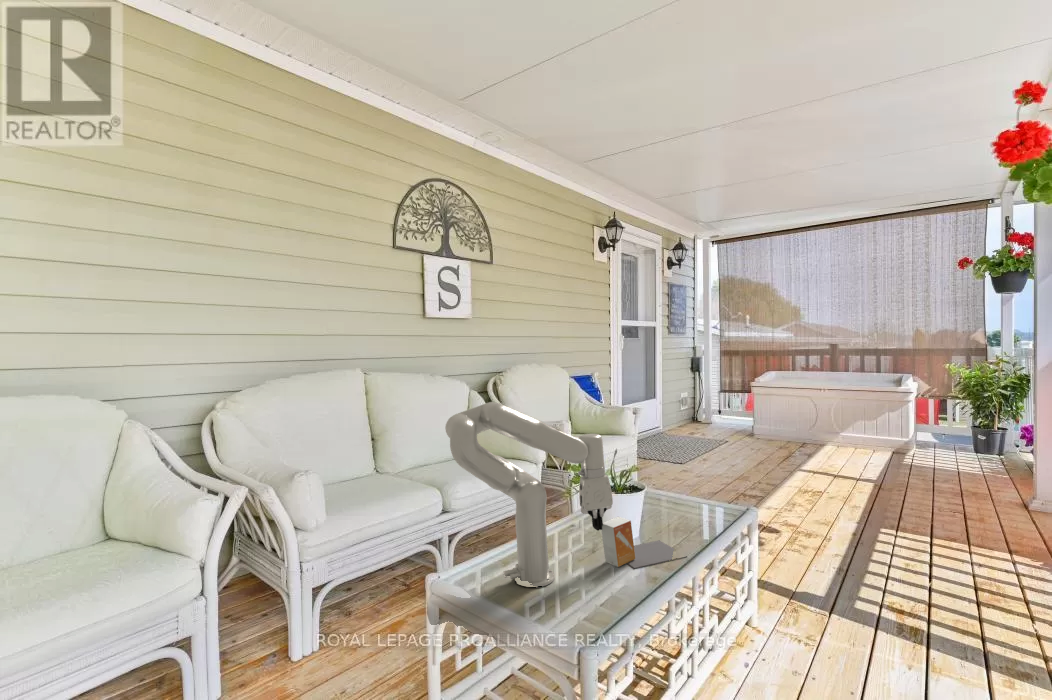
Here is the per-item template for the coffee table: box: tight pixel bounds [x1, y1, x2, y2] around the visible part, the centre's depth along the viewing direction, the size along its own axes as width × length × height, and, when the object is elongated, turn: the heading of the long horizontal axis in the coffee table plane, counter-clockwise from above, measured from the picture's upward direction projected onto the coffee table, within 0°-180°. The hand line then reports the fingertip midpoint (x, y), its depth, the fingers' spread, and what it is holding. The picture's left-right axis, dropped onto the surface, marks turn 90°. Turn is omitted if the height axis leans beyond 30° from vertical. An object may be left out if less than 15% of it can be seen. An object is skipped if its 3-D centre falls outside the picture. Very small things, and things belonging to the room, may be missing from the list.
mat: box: [626, 540, 675, 570], centre depth 172 cm, size 20×16×1 cm
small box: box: [601, 516, 635, 568], centre depth 168 cm, size 8×6×13 cm
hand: (597, 528), depth 165 cm, fingers closed
